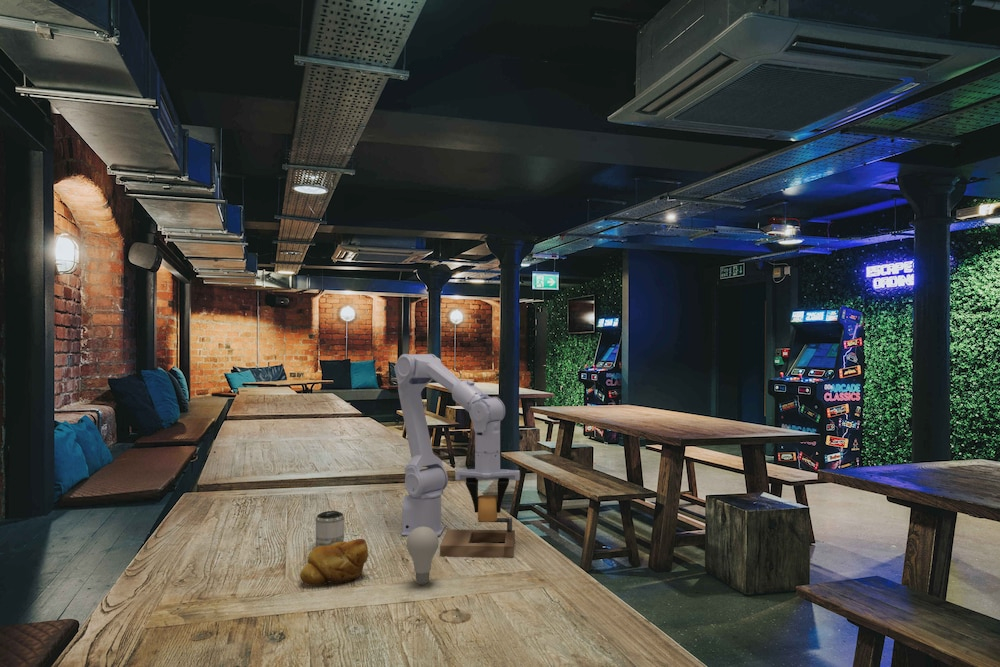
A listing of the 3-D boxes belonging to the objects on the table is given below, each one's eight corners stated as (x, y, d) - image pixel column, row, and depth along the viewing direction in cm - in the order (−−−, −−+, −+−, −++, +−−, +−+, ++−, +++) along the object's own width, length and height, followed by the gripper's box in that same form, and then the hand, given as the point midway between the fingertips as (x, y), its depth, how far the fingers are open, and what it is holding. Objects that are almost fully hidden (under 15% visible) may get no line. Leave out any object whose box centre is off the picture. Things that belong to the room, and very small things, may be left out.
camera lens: (349, 547, 141) (349, 512, 141) (325, 554, 136) (325, 518, 137) (334, 541, 145) (334, 507, 145) (310, 547, 141) (310, 513, 141)
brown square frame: (439, 556, 135) (439, 545, 135) (447, 539, 147) (447, 529, 147) (513, 557, 134) (513, 546, 134) (514, 540, 146) (514, 530, 146)
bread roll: (304, 594, 114) (305, 550, 115) (293, 577, 123) (293, 536, 123) (372, 580, 121) (372, 539, 121) (356, 565, 129) (357, 527, 130)
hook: (478, 542, 145) (478, 518, 145) (478, 540, 146) (478, 517, 146) (512, 542, 144) (512, 518, 144) (512, 540, 145) (512, 517, 145)
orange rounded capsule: (476, 521, 138) (476, 499, 138) (479, 516, 142) (479, 494, 142) (495, 522, 137) (495, 499, 137) (498, 517, 142) (498, 495, 142)
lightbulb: (443, 580, 121) (443, 524, 121) (430, 592, 115) (430, 533, 115) (415, 577, 123) (415, 521, 123) (400, 588, 117) (400, 529, 117)
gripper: (453, 454, 137) (453, 515, 137) (519, 454, 136) (519, 516, 136) (457, 448, 144) (457, 507, 144) (519, 449, 143) (519, 508, 143)
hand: (487, 511), depth 140 cm, fingers closed on orange rounded capsule, 4 cm apart
